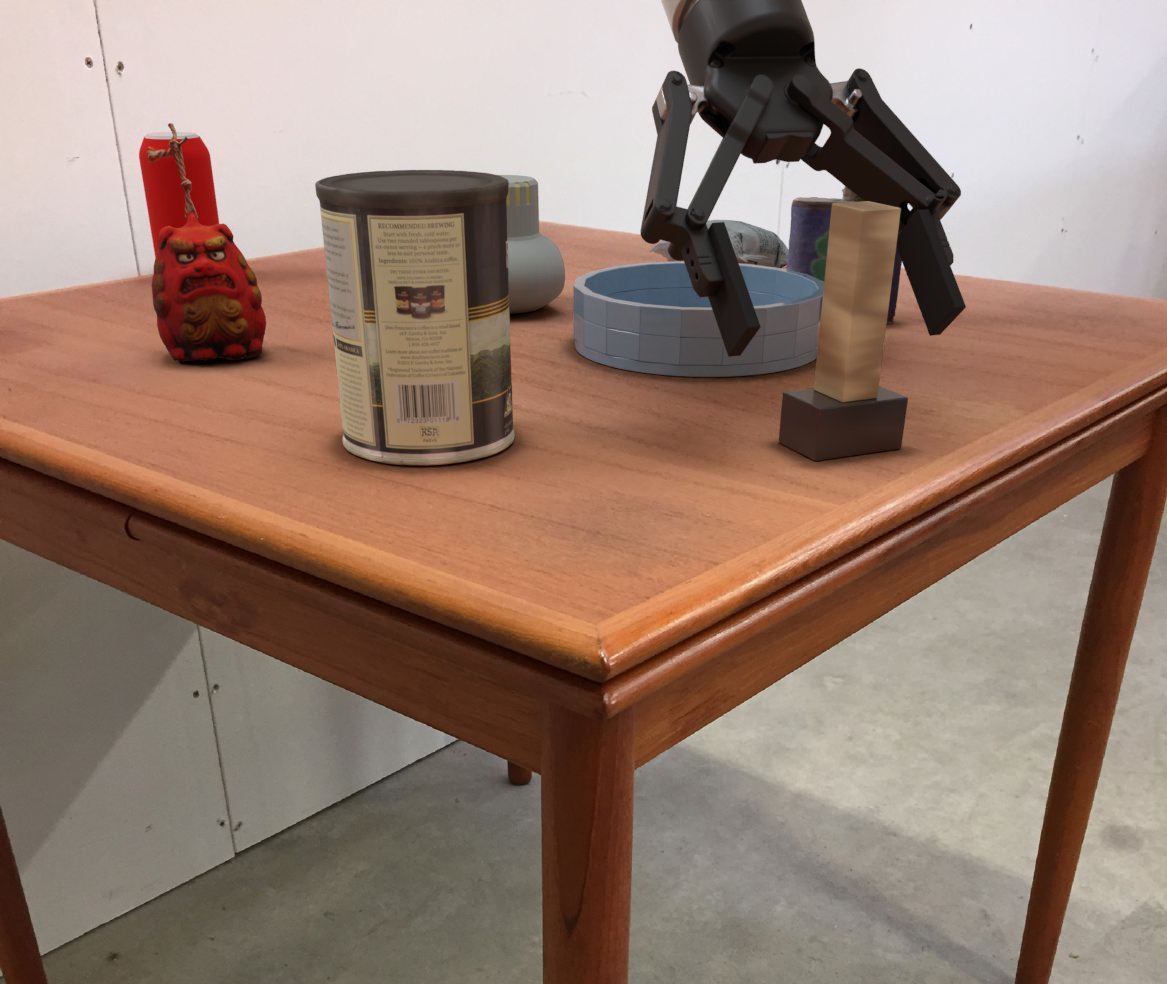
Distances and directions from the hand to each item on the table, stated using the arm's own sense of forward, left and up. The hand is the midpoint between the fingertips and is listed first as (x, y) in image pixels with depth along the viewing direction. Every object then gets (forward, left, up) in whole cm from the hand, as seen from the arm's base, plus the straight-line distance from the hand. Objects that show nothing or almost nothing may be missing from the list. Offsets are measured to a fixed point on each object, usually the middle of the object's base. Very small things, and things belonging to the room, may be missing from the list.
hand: (849, 332), depth 71 cm
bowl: (+15, -21, -6) cm, 27 cm away
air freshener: (+34, -28, -7) cm, 44 cm away
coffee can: (+23, +8, -7) cm, 25 cm away
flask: (+7, -35, -7) cm, 36 cm away
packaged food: (+21, -48, -7) cm, 53 cm away
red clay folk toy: (+47, -5, -7) cm, 48 cm away
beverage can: (+67, -30, -7) cm, 74 cm away
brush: (0, 0, -6) cm, 6 cm away
